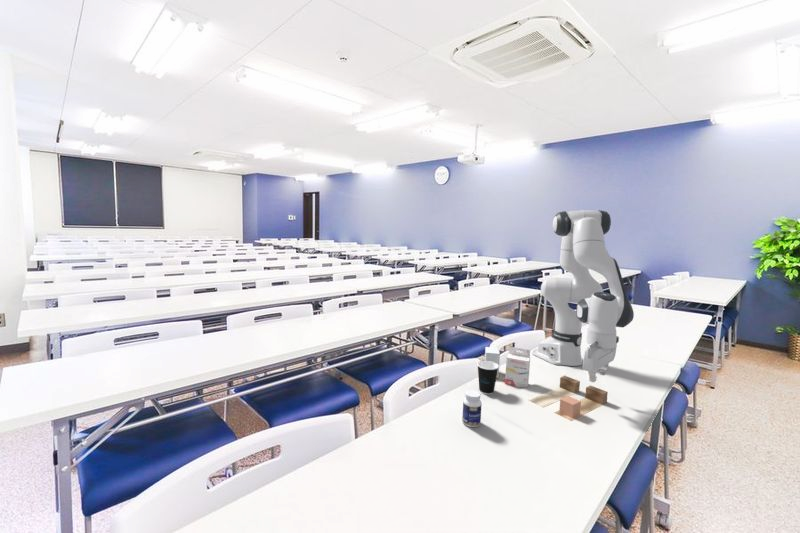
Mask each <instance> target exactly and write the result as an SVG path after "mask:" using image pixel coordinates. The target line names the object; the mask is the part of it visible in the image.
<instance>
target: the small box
mask: <svg viewBox="0 0 800 533" xmlns="http://www.w3.org/2000/svg"><path fill="white" fill-rule="evenodd" d="M484 349H485V350H484V351H485V352H484V361H491V362H494V363H496V364H498V365H499V366H500V363H501V362H500V360H501V358H500V357H501V353H500V349H499V347H493V346H485V348H484ZM499 378H500V367H499V368H498V370H497V376H496V379H499Z"/></svg>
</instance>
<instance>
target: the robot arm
mask: <svg viewBox="0 0 800 533" xmlns="http://www.w3.org/2000/svg"><path fill="white" fill-rule="evenodd" d="M611 226H612V220H611V215H610V213H608V212H607V211H605V210H600V209H599V210H592V209H581V210H570V211H566V210H565V211H559V212H557V213H556V214H555V215H554V218H553V220H552V230H553V232H554V233H555V235H557V236H560V237H561V244H560V251H559V252H560V253H559V255H560V256H559V265H560V267H561V268H562V269H563V270H564V271H567V272H569V273H571V275H572V276H573V278H570V277H569V278H567V277H549V278H548V277H547V278H545V279H544V280H543V281H542V283H541V285H540V292H541V293H540V294H541V295H542V297H543V298H544V299H545V300H546V301H547V302H549V303H550V305H551V306H552V308H553V312H554V317H555V318H554V320H555V324H554V327H555V328H554V329H553V328H552V329H551V330H550V331H549V333H550V334H551V335H550V336H548V337H546V338H544V339H542V340H540V342H539V343H538V345H537V348H536V349H533V350H532V352H531V354H532V355H533V356H535V357H537V358H539V359H541V360H544V361H546V362H548V363H550V364H552V365H557V366H566V367H567V366H569V367H571V366H572V367H578V366H581V365H582V369H583V371H586V372H587V373H588V376H589V377H588V378H589V379H588V380H589V381H590V382H591V383H596V382H597V379H598V378H597V376H596V375H597V372H598V370H599V375H601V376H606V375H607V370H608V368H609V366H610V365H609V364H610V363H612V362H613V361H614V360H615V358H616V353H617V347H618V343H619V341H620V337H619V336H618V335H617V328H625V327H627V326H628V325H629V324H630V323H632V321H633V320H634V316H635V315H634V314H635V313H634V309H633V306H632V304H631V302H630V299H629V298H628V293H627V291H626V286H625V283H624V280H623V276H622V273H621V270H620V266H619V264H618V261H617V260H616V259H615V258H614V257H612V256H611V255H610V253H609V252H608V250H607V247H606V243H605V242H606V240H605V235H606V234H608V233H609V231H610V229H611ZM589 270H590V271H591V270H592V271H594V272H596V273H598V274H600V275H602V276H603V277H604V278H605V279H606V281H607V284H608V289H609V292H610V293H608V292H606V291H605V292H604V289H603V287H602V285H601V283H600V282H598V281H597V280H596V279H595V278H594V277H593V276H592V274H591V273H590V271H589ZM569 303H575V304H576V308H575V309H576V310H575V309H573V308H571V307H570V306H569ZM582 324H586V325H588V328H587V331H586V343H587V344H588V345H589V347H586V349H585V351H584V354H583V359H582V351H581V348H582V347H581V345H582V339H583V338H582V337H583V333H582Z"/></svg>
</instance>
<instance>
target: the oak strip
mask: <svg viewBox="0 0 800 533" xmlns="http://www.w3.org/2000/svg"><path fill="white" fill-rule="evenodd" d="M584 395H585V397H584V398H582V399H580V400H579V401H581V407H580V414H579V415H578V416H576V417H574V418H571V417H569V416H567V415H564V414H562V413H560V412H559V410H560V409H559V410H556V411H555V412H554V413H555V414H557V415H558V416H560V417H562V418H564V419H567V420H568V421H570V422H572V421H574V420H576V419H578V418H580V417H582V416H584V415H586V414H588V413H589V412H591V411H593V410H595V409H598V408H600V407H601V406H604V405H605V404H607V403H608V401H607V400H608V391H606V390H604V389H600V388H599V387H596V386H593V385H590V384H589V385H588V386H586V388H585V394H584Z"/></svg>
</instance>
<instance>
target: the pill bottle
mask: <svg viewBox="0 0 800 533" xmlns="http://www.w3.org/2000/svg"><path fill="white" fill-rule="evenodd" d="M464 397H465V398H464V399H463V403H462V417H461V419H462V420H461V421H462V424H463V425H464V426H466V427H470V428H478V427H479V426H480V425H481V423H482V422H481V419H482V400H481V392H480V391H476V390H472V389H470V390H466V391H465V394H464Z"/></svg>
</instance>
